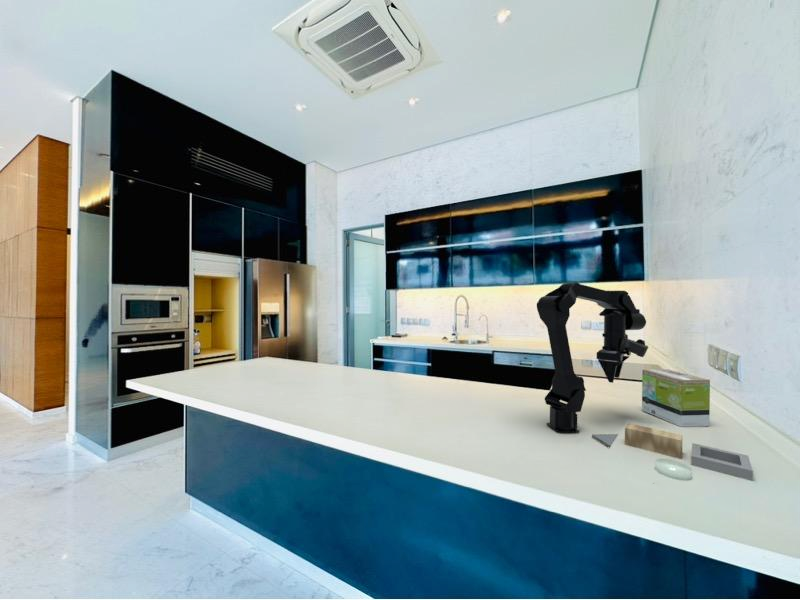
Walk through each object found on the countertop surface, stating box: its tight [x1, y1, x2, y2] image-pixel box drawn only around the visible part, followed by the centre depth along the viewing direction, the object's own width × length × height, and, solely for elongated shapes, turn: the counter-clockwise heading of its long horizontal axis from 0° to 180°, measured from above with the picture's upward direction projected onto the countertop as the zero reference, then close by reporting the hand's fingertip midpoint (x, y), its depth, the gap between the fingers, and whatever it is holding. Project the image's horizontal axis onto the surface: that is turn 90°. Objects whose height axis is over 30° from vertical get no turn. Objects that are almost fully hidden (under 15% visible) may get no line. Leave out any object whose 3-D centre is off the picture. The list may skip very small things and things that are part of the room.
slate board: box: [591, 433, 619, 449], centre depth 85 cm, size 14×14×1 cm
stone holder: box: [690, 442, 754, 481], centre depth 75 cm, size 10×10×3 cm
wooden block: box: [624, 422, 683, 460], centre depth 83 cm, size 4×4×11 cm
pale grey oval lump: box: [654, 458, 693, 481], centre depth 71 cm, size 6×6×2 cm
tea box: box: [641, 369, 711, 428], centre depth 108 cm, size 15×10×15 cm, turn 5°
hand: (614, 379), depth 104 cm, fingers open, 9 cm apart
